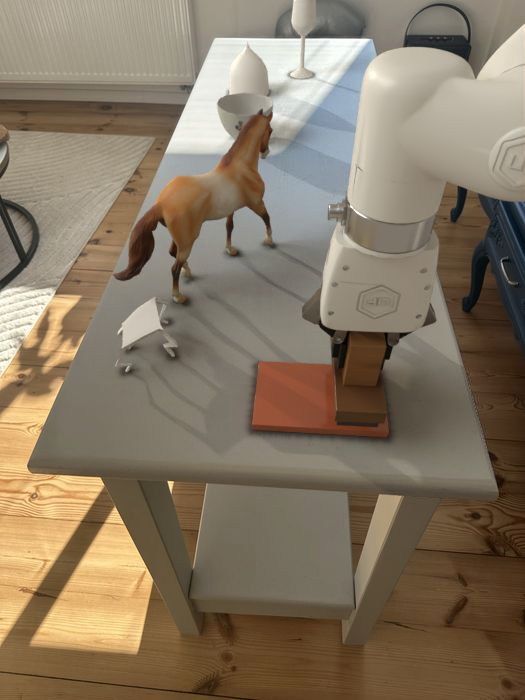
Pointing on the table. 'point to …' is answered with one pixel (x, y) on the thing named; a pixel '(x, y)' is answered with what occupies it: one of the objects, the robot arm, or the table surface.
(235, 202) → the horse figurine
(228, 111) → the teacup
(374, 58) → the robot arm
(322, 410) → the tile
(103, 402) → the table surface
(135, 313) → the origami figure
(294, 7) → the champagne flute
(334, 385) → the brown stepped block
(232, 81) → the teardrop
